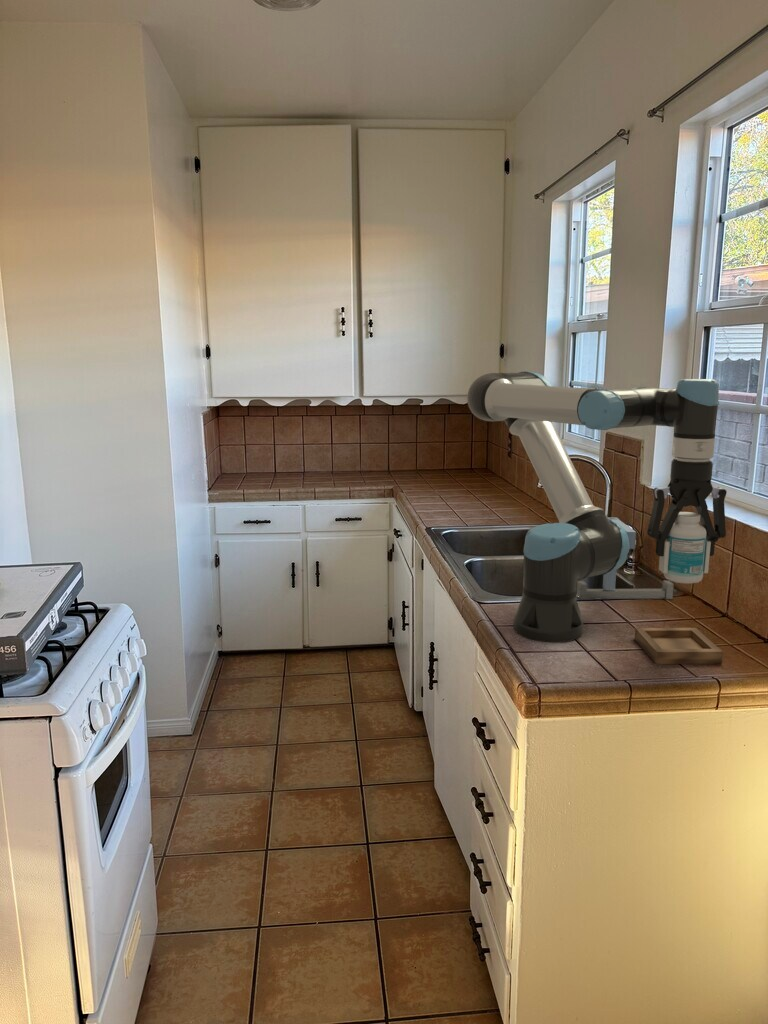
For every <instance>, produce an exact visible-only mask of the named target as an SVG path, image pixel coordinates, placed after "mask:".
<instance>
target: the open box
mask: <svg viewBox="0 0 768 1024" xmlns="http://www.w3.org/2000/svg"><path fill="white" fill-rule="evenodd" d="M634 640H635V641H636V642H637V644H638V645H639V646H640V647H641V648H642V649H643V651H644V652H645V653H646V654H647V655H648V656H649V657H650V659H651V660H652V661H653V662H654V663H655V664H656V665H658V664H660V665H664V664H666V665H668V664H669V665H670V664H671V665H672V664H673V665H674V664H677V665H678V664H681V665H683V664H684V665H685V664H686V665H687V664H688V665H689V664H691V665H692V664H697V665H698V664H700V665H701V664H702V665H703V664H704V665H705V664H707V665H708V664H709V665H710V664H722V663H723V657H724V656H723V654H724V651H723V650H722V649H721V648H720V647H718V646H717V645H716V644H715V642H713V641H711V639H709V638H708V637H707V636H706V635H704V633H702V632H701V630H699V629H698V628H697V627H635V628H634Z"/></svg>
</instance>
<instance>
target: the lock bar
mask: <svg viewBox="0 0 768 1024" xmlns="http://www.w3.org/2000/svg"><path fill="white" fill-rule="evenodd" d="M607 518H608V520H609V521H613V522H616V523H617V524H620V525H621V526H622V527H623V528H624V529H625V531H626V533H627V535H628V539H629V550H632V549H633V550H635V549H636V540H637V539H636V538H637V531H635V530H634V529H633V528H631V527H630V526H629V525H627V524H626V523H624V522H623V521H621V520H620V518H618V517H614V516H613V517H608V516H607ZM602 576H603V578H602V589H605V590H615V589H616V579H617V570H615V571H612V572H609V573H608V574H605V575H602Z"/></svg>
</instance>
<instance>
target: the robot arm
mask: <svg viewBox="0 0 768 1024" xmlns="http://www.w3.org/2000/svg"><path fill="white" fill-rule="evenodd" d="M719 389H720V386H719V382H718V381H717V380H716V379H713V378H712V379H711V378H710V379H709V378H682V379H679V380H678V382H677V384H676V388H663V387H660V388H659V387H649V386H638V387H631V388H627V389H606V388H605V389H604V388H589V387H588V388H582V387H571V386H570V387H569V386H555V385H554V386H553V385H552V383H551V382H550V381H549V379H548V378H547V377H546V376H545V375H543V374H541V373H538V372H531V371H524V370H523V371H519V372H490V373H485V374H482V375H480V376H478V377H477V378H476V379H475V380H474V381H473V382H472V383H471V385H470V386H469V388H468V390H467V397H466V398H467V399H466V401H467V407H468V408H469V410H470V411H471V414H472V415H474V416H475V417H476V418H477V419H480V420H482V421H485V422H505V425H506V426H507V429H508V430H509V433H510V434H511V435H513V436H517V437H519V439H520V441H521V442H520V443H521V444H522V446H523V448H524V450H525V452H526V454H527V456H528V458H529V460H530V463H531V465H532V466H533V469H534V471H535V474H536V475H537V478H538V479H539V482H540V484H541V485H542V488H543V490H544V493H546V497H547V498H548V501H549V503H550V505H551V507H552V508H553V511H554V513H555V515H556V518H557V519H558V522H554V523H550V522H549V523H543V524H538V525H535V526H533V527H532V528H530V529H529V530H528V531H527V532H526V534H525V537H524V538H525V539H524V545H523V549H522V550H523V551H522V552H523V572H522V573H523V574H522V576H523V579H522V585H523V586H522V596H521V599H520V601H519V604H518V606H517V609H516V611H515V614H514V617H513V629H514V631H515V632H516V633H517V634H518V635H519V636H522V637H524V638H528V639H529V640H530V639H531V640H534V641H539V642H547V643H548V642H549V643H564V642H565V643H566V642H570V641H575V640H577V639H579V638H581V637H582V636H583V634H584V621H583V617H582V613H581V610H580V606H579V603H578V599H577V598H578V597H577V581H581V580H584V579H588V578H592V577H596V576H603V575H605V574H608V573H609V572H612V571H615V570H616V571H617V570H619V568H621V567H622V566H624V564H625V562H626V561H627V559H628V554H629V553H630V549H629V539H628V535H627V533H626V531H625V529H624V528H623V527H622V526H621V525H620V524H617V523H616V522H613V521H609V520H608V518H607V517H608V516H607V515H606V513H605V511H604V509H603V508H601V507H598V506H595V505H594V504H593V502H592V500H591V498H590V496H589V493H588V492H587V490H586V487H585V486H584V484H583V482H582V480H581V478H580V475H579V474H578V471H577V469H576V468H575V466H574V463H573V462H572V460H571V458H570V455H569V454H568V451H567V449H566V448H565V446H564V443H563V440H561V439H562V438H561V437H560V436H559V433H558V431H557V429H556V428H555V425H554V423H557V424H567V425H574V426H576V425H577V426H583V427H584V426H585V427H586V428H588V429H590V430H596V431H607V430H612V429H620V428H632V427H644V426H660V427H669V428H673V439H672V451H671V456H672V457H673V459H672V460H671V464H670V481H669V483H668V484H667V486H666V487H660V488H659V487H654V488H653V497H654V499H653V504H652V509H651V513H650V519H649V523H648V526H647V527H648V528H647V533H646V534H647V535H648V536H649V537H651V538H652V539H655V540H656V542H655V555H656V556H658V557H659V562H658V571H660V572H661V573H663V574H664V573H667V572H668V559H669V546H670V542H669V541H667V540H666V538H667V536H668V534H669V532H670V530H671V528H672V526H673V524H674V523H676V521H675V520H676V518H677V516H678V514H679V512H682V510H683V509H684V508H685V507H686V508H687V507H694V508H695V509H696V511H697V512H696V513H698V514H700V525H701V526H703V527H704V528H705V529H706V546H705V557H704V570H703V574H708V573H709V565H710V557H713V556H714V555H715V546H716V542H718V541H719V539H720V538H721V539H724V538H725V537H726V535H727V532H726V529H727V528H726V514H725V513H726V511H725V499H726V496H727V492H728V491H727V489H724V488H722V487H719V486H718V487H717V486H716V487H715V486H713V484H712V477H713V468H714V462H713V461H712V460H711V459H713V458H714V454H715V445H716V428H717V427H716V426H717V419H718V418H717V417H718V409H719V405H720V399H719V398H720V397H719V396H720V394H719V393H720V391H719ZM668 494H669V495H670V496H671V497H672V499H671V501H670V502H669V507H668V509H667V512H666V514H665V516H664V518H663V520H662V516H663V512H664V507H665V502H666V499H667V498H668ZM710 494H711V498H712V511H713V515H712V516H713V522H712V519H711V516H710V513H709V511H708V509H709V507H708V504H707V501H706V499H708V497H709V496H710ZM661 521H662V522H661Z"/></svg>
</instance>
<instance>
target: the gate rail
mask: <svg viewBox="0 0 768 1024" xmlns="http://www.w3.org/2000/svg"><path fill="white" fill-rule="evenodd" d="M674 585H675V584H674V583H673V581H670V580H668V579H666V580H662V586H661V588H615V590H605V589H604V588H588V584H587V583H586V582H585V580H577V596H579V597H577V598H578V599H579V600H580V601H581V600H583V601H586V600H596V599H595V598H601V599H600V600H644V599H645V600H646V599H647V600H650V599H651V600H655V599H656V600H657V599H659V600H660V599H661V600H663V599H664V600H673V598H674Z"/></svg>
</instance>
